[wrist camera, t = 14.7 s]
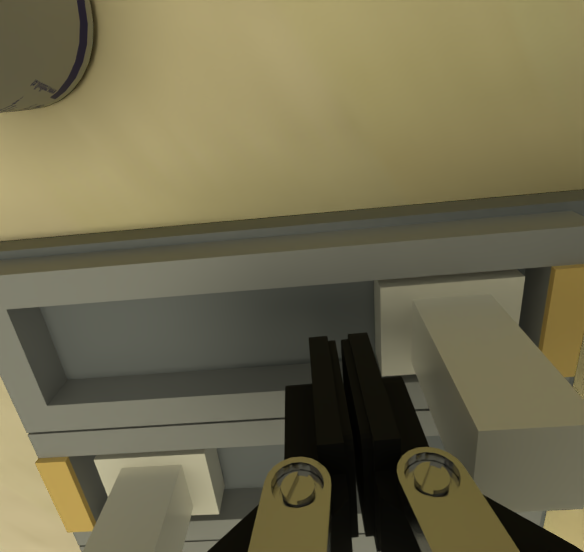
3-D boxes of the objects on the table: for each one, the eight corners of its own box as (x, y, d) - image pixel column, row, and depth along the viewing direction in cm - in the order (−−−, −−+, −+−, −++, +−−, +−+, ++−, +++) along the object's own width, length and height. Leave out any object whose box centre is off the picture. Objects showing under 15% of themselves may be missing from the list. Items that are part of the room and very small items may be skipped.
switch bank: (588, 189, 15) (653, 213, 12) (519, 562, 23) (548, 626, 20) (-25, 243, 16) (-91, 276, 13) (117, 578, 24) (94, 639, 22)
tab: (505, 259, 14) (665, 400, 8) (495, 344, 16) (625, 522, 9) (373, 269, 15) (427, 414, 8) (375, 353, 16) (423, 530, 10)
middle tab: (211, 426, 18) (160, 620, 11) (224, 485, 19) (186, 686, 13) (108, 433, 18) (2, 625, 12) (128, 490, 19) (43, 689, 13)
